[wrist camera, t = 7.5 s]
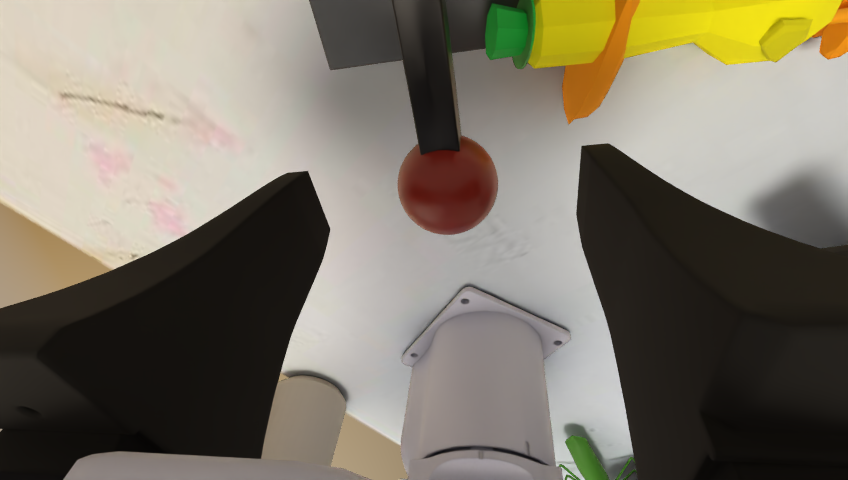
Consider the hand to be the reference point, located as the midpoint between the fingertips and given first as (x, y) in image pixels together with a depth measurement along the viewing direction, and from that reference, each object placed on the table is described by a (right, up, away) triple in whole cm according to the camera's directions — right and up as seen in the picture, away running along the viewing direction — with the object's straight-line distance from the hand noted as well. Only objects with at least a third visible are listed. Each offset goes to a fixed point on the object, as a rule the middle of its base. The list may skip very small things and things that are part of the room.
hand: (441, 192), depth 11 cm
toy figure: (+14, +6, +3) cm, 15 cm away
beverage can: (-10, -14, +25) cm, 30 cm away
